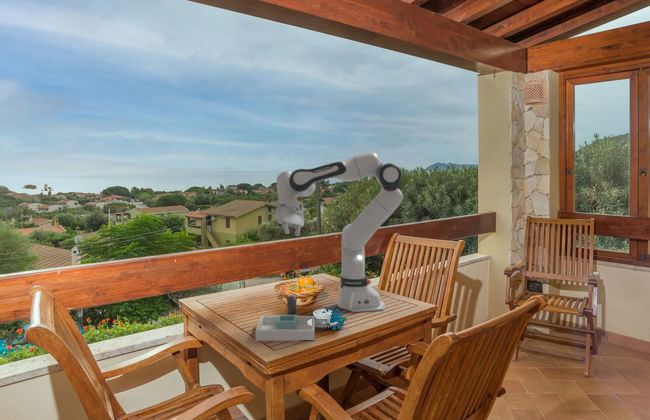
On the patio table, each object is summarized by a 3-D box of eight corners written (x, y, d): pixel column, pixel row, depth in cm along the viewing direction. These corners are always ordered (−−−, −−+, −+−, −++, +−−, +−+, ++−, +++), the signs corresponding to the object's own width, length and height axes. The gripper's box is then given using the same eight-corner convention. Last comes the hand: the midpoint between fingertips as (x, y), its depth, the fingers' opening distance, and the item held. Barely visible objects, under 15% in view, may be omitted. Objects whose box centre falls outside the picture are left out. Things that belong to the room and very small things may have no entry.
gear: (322, 328, 163) (321, 305, 169) (318, 334, 167) (317, 311, 174) (348, 330, 165) (346, 307, 172) (344, 336, 170) (342, 313, 176)
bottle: (296, 316, 181) (296, 294, 180) (296, 319, 177) (296, 296, 176) (287, 316, 181) (287, 294, 180) (286, 319, 177) (286, 296, 176)
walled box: (314, 325, 170) (314, 313, 170) (314, 340, 154) (314, 327, 154) (261, 325, 170) (261, 313, 169) (255, 340, 154) (255, 327, 153)
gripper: (282, 200, 182) (286, 230, 178) (304, 207, 200) (308, 235, 197) (270, 203, 184) (274, 233, 181) (293, 210, 202) (297, 238, 199)
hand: (292, 234), depth 189 cm, fingers open, 8 cm apart
